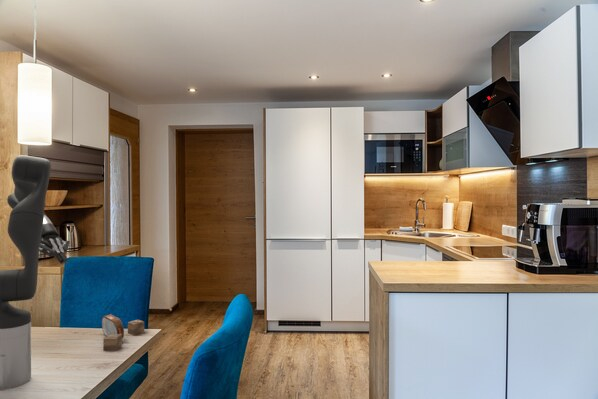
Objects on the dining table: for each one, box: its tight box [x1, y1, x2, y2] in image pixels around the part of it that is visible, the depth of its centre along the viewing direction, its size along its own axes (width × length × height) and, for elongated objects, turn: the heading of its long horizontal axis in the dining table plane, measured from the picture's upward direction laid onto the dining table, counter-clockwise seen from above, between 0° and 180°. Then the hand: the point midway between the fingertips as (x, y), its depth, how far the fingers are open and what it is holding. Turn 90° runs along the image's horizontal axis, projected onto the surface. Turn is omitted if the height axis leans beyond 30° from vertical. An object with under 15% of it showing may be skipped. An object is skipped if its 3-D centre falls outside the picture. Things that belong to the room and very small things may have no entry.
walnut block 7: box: [127, 319, 145, 336], centre depth 162 cm, size 4×4×5 cm
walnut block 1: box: [102, 334, 123, 352], centre depth 145 cm, size 4×4×5 cm
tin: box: [101, 313, 125, 340], centre depth 155 cm, size 15×3×8 cm, turn 47°
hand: (64, 262), depth 153 cm, fingers closed
